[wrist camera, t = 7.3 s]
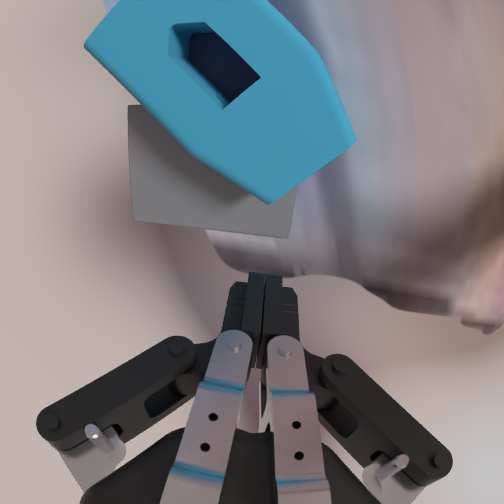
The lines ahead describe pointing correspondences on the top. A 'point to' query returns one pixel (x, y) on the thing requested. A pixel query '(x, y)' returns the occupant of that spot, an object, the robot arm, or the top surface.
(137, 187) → the mat
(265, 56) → the block
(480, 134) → the top surface
